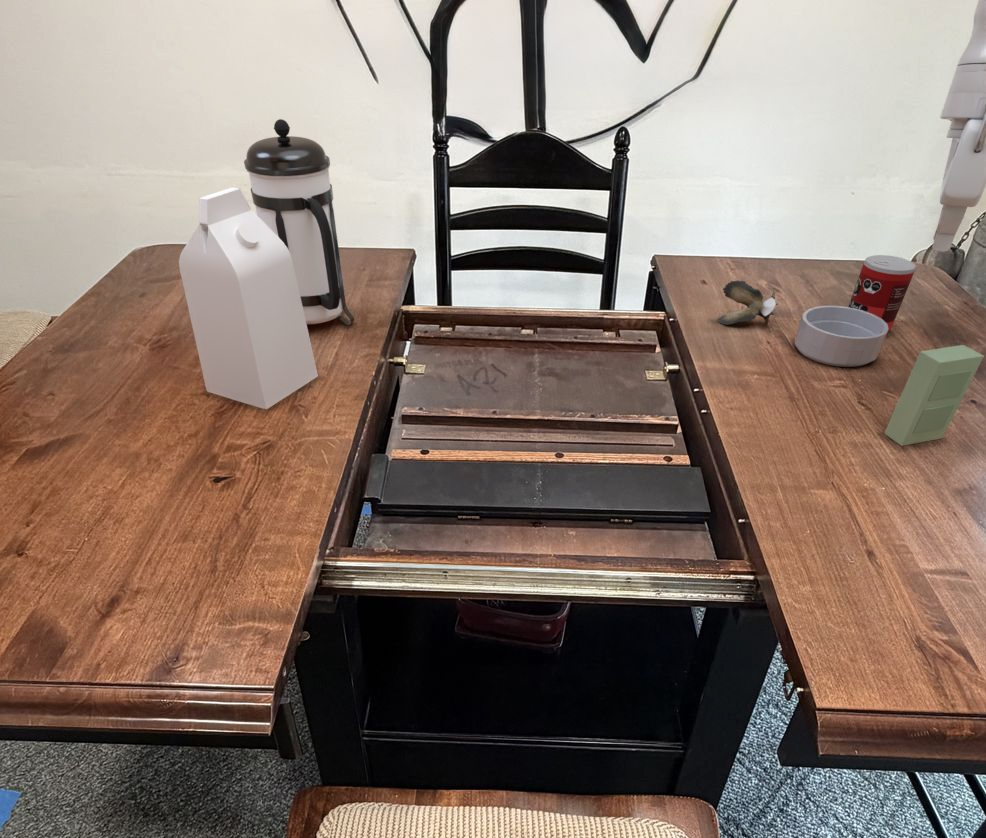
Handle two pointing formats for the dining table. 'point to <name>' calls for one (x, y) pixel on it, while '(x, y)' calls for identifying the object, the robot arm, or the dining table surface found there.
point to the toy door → (932, 394)
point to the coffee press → (301, 216)
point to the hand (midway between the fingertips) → (939, 246)
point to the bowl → (840, 335)
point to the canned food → (882, 286)
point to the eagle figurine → (747, 303)
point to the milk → (244, 305)
